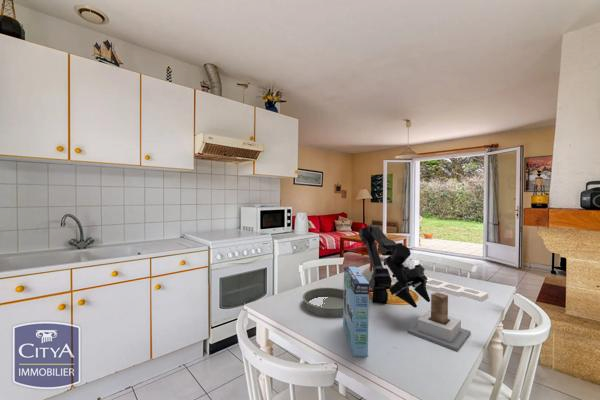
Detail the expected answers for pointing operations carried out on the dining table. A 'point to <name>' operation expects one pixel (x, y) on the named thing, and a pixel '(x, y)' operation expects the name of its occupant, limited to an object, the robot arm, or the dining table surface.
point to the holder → (453, 289)
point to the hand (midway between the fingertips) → (422, 304)
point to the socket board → (439, 341)
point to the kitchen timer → (368, 274)
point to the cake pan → (326, 301)
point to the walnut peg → (439, 308)
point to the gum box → (356, 311)
